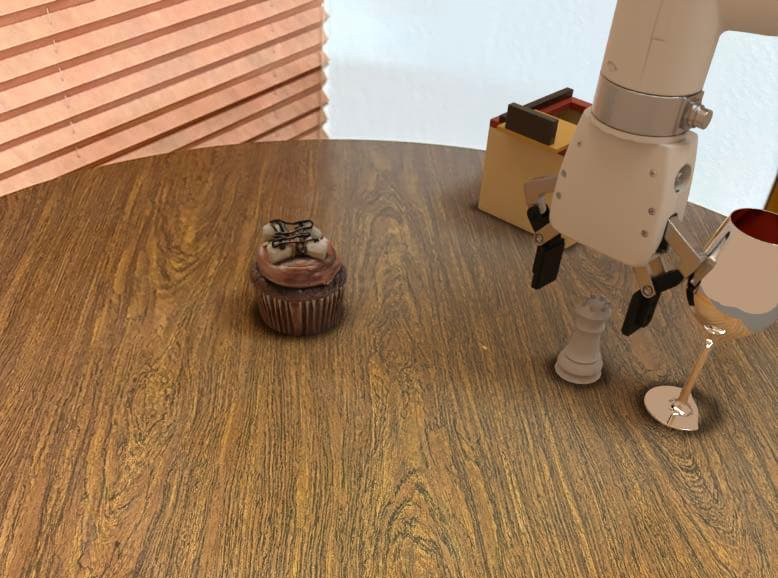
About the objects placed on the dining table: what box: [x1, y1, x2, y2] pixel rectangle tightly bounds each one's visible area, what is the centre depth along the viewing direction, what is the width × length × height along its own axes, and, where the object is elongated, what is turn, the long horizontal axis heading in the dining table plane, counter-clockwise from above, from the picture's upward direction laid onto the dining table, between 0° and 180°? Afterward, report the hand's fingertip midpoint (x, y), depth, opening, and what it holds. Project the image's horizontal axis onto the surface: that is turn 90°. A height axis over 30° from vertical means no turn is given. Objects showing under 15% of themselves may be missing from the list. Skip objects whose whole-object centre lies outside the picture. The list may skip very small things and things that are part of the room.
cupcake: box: [248, 217, 349, 337], centre depth 83 cm, size 10×10×10 cm
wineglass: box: [643, 207, 778, 432], centre depth 72 cm, size 8×8×18 cm
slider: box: [497, 102, 577, 154], centre depth 93 cm, size 7×8×3 cm
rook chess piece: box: [554, 292, 613, 385], centre depth 80 cm, size 4×4×8 cm
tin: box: [477, 87, 592, 250], centre depth 100 cm, size 13×13×12 cm
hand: (586, 306), depth 77 cm, fingers open, 9 cm apart
